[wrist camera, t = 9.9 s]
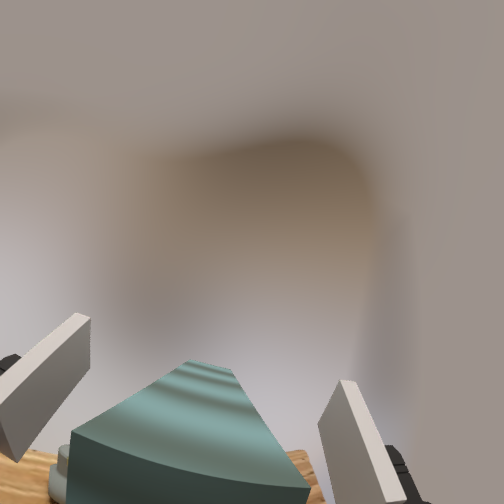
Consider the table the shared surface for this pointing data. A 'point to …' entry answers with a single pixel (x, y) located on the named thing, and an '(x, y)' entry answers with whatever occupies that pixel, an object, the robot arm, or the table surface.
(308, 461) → the table surface
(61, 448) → the air freshener
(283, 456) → the block
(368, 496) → the robot arm
